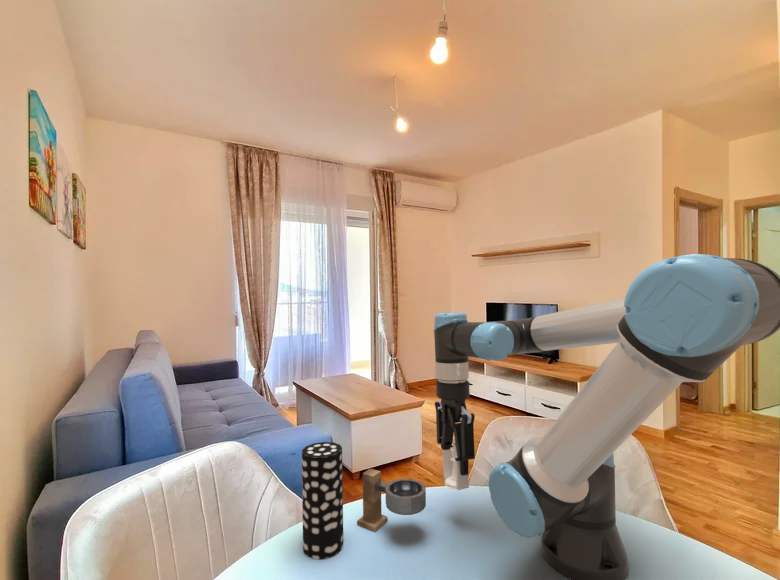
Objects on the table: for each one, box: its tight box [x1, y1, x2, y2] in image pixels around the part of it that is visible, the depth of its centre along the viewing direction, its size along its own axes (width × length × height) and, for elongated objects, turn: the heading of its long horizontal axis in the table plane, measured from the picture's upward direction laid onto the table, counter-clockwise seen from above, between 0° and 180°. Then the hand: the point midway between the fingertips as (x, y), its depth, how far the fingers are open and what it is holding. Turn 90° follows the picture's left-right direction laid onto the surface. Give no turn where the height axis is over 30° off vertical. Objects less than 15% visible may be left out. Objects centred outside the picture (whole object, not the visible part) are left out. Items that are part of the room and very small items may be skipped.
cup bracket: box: [375, 478, 427, 516], centre depth 85 cm, size 14×9×3 cm, turn 57°
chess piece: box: [444, 438, 458, 490], centre depth 88 cm, size 5×5×10 cm
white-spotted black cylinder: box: [301, 441, 344, 560], centre depth 81 cm, size 8×8×20 cm
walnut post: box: [356, 468, 388, 533], centre depth 89 cm, size 5×5×12 cm
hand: (455, 482), depth 88 cm, fingers closed on chess piece, 5 cm apart
